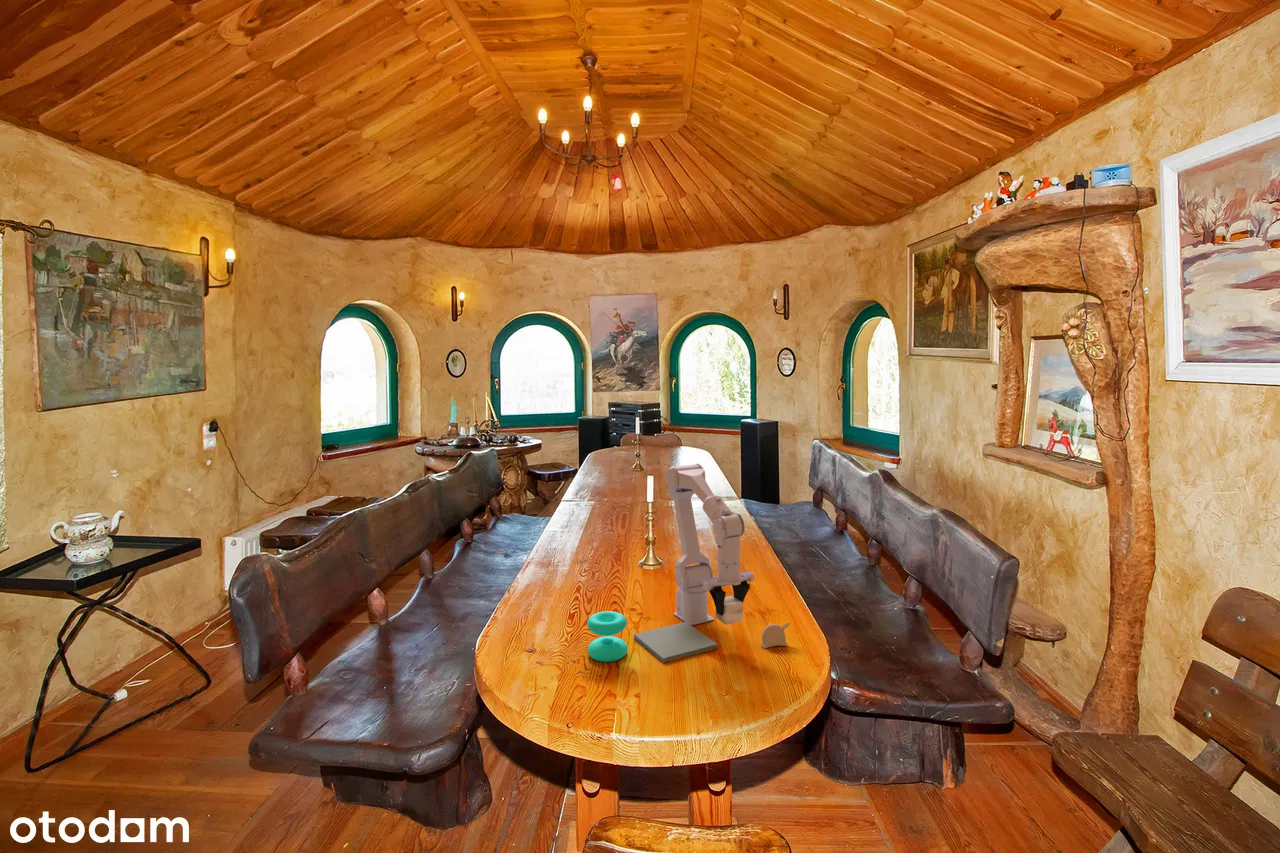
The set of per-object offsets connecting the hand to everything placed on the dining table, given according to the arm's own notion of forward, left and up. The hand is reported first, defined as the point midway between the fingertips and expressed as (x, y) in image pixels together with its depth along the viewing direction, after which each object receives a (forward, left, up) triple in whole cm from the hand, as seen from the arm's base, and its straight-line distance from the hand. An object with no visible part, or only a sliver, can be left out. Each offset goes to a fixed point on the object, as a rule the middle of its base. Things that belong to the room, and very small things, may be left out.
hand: (729, 611), depth 174 cm
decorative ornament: (+6, +11, -9) cm, 15 cm away
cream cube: (0, 0, -2) cm, 2 cm away
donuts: (-11, -30, -9) cm, 33 cm away
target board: (-8, -12, -9) cm, 17 cm away
